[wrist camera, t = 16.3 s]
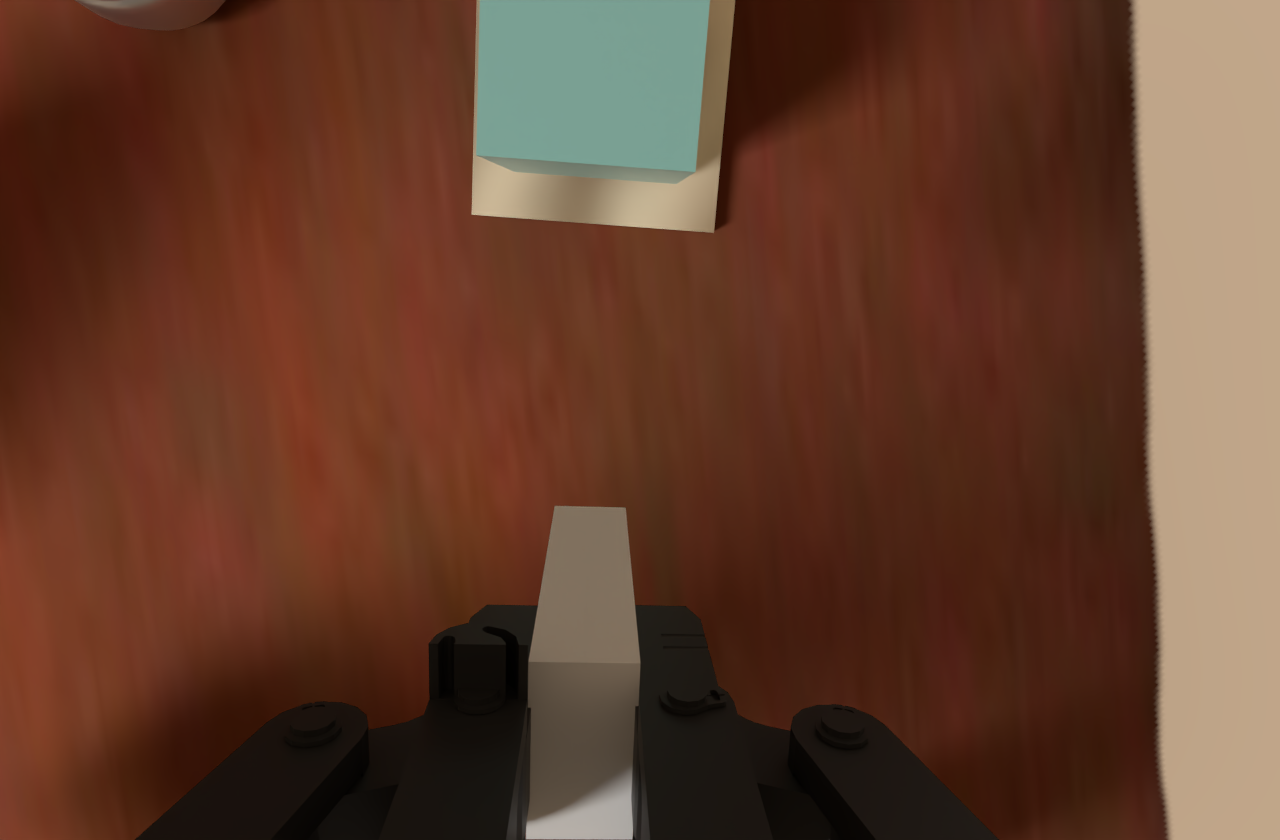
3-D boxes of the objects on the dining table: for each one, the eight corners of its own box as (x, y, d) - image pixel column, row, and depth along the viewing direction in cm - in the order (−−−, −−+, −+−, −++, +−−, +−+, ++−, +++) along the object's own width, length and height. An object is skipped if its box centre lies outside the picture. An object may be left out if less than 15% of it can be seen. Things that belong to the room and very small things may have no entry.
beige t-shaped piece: (475, 214, 34) (418, 213, 25) (481, -49, 32) (422, -161, 23) (711, 232, 35) (745, 237, 25) (735, -27, 32) (782, -128, 23)
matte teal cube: (514, 171, 32) (476, 155, 24) (520, -6, 31) (481, -91, 22) (676, 184, 33) (695, 172, 24) (690, 9, 31) (715, -71, 23)
